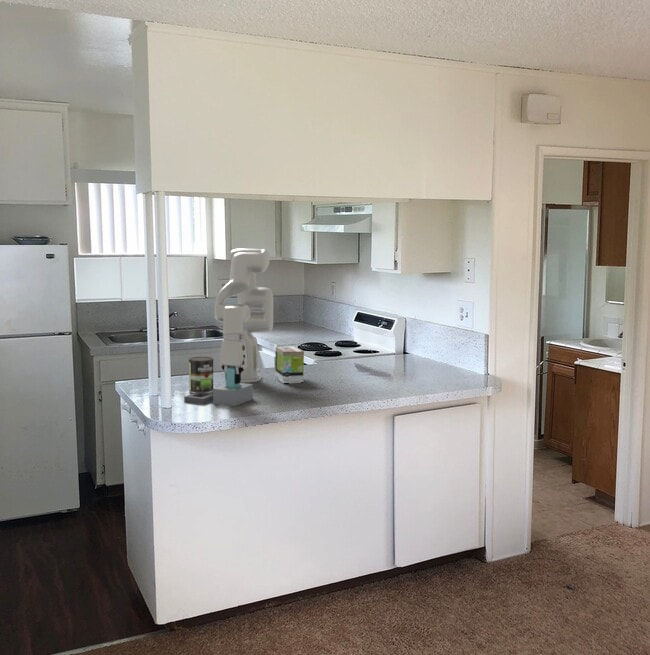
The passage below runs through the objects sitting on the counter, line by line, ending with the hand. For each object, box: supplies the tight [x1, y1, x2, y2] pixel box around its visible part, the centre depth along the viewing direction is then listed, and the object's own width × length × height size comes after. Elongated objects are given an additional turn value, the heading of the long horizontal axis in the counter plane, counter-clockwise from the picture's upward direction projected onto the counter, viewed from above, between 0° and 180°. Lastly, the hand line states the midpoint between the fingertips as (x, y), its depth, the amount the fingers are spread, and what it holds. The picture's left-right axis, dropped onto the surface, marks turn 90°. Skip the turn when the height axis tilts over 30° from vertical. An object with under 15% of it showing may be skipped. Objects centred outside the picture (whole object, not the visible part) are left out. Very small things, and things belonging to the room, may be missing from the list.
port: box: [212, 382, 254, 407], centre depth 284 cm, size 14×10×6 cm
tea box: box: [274, 346, 305, 384], centre depth 324 cm, size 15×10×15 cm, turn 18°
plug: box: [225, 366, 241, 389], centre depth 283 cm, size 5×4×11 cm
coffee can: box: [188, 356, 214, 394], centre depth 300 cm, size 10×10×14 cm
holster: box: [183, 392, 213, 405], centre depth 284 cm, size 10×9×2 cm
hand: (233, 382), depth 283 cm, fingers closed on plug, 3 cm apart
